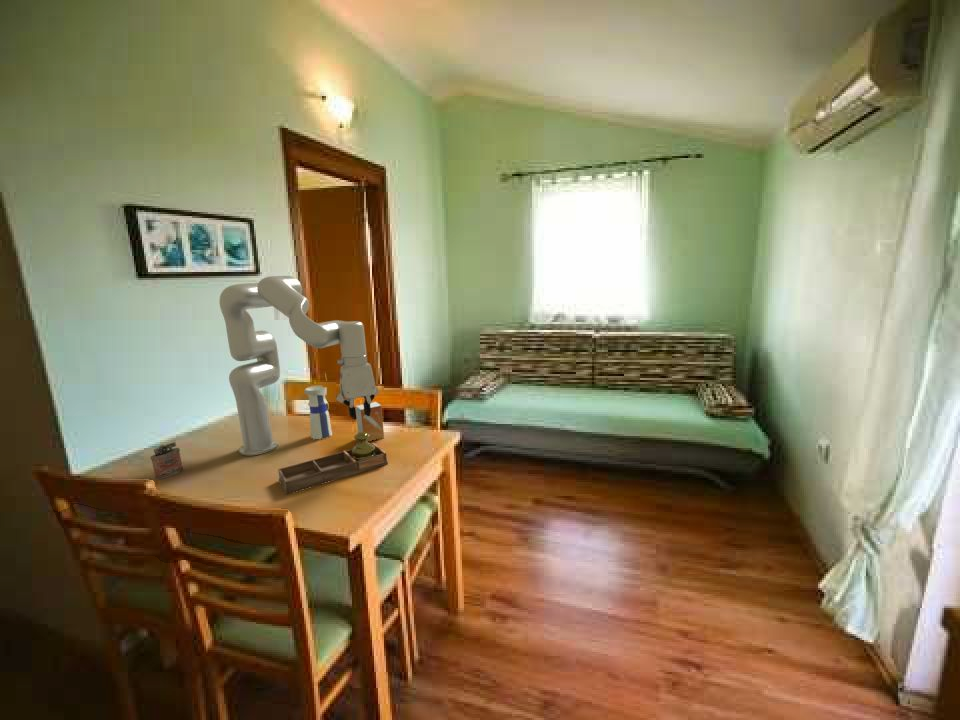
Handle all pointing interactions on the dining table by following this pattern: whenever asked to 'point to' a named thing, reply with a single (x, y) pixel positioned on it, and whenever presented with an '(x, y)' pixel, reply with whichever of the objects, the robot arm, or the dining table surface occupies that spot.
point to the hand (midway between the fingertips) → (360, 416)
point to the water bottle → (318, 412)
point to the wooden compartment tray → (327, 469)
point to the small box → (370, 421)
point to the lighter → (166, 461)
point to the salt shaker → (363, 447)
